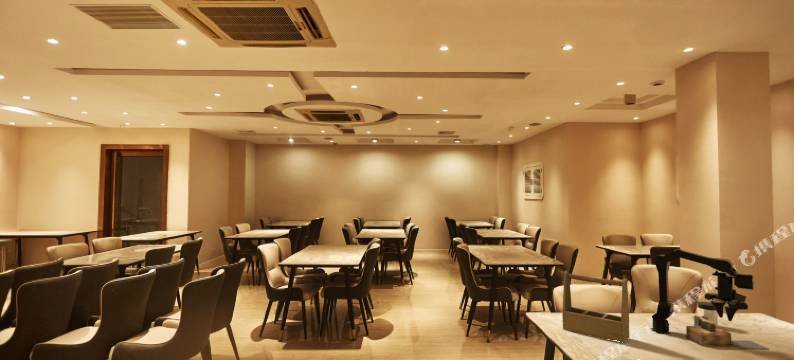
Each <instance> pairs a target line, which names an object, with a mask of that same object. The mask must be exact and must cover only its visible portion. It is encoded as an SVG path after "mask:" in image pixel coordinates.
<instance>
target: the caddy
mask: <svg viewBox="0 0 794 360" xmlns="http://www.w3.org/2000/svg"><path fill="white" fill-rule="evenodd" d="M570 279H571V280H577V281H581V282H589V283H597V284H602V285H609V286H615V287H616V286H617V287H621V313H620V315H616V314H611V313H604V312H601V311H600V312H599V311H596V310H595V311H594V310H591V309H590V310H589V309H584V308H580V307H575V306H572V294H571V283H570V281H571V280H570ZM628 289H629V288H628V279H627V278H623V279H622V280H616V279H610V278H609V279H608V278H603V277H602V278H599V277H592V276H587V275H581V274H575V273H570V272H569V271H567V270H565V271H564V274H563V292H562V293H563V294H562V312H561V313H562V318H561V319H562V330H565V331H568V332H572V333H576V334H581V335H584V336H585V335H586V336H589V335H590V337H593V336H594V338H598V337H599V338H598V339H602V338H603V340H606V339H610V340H617V341H620V342H623V343H624V344H625V343H626V342H627V341H628V340H629V339H630V311H629V310H630V309H629V308H630V307H629V291H628ZM628 338H629V339H628ZM627 339H628V340H627ZM610 340H609V341H610ZM626 340H627V341H626ZM623 343H622V344H623Z"/></svg>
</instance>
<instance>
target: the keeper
mask: <svg viewBox="0 0 794 360" xmlns="http://www.w3.org/2000/svg"><path fill="white" fill-rule="evenodd" d="M702 318H705V319H707V320H708V318H707V317H705V316H702ZM693 321H694V322H693V326H701V323H700V317H697V316H694V320H693Z"/></svg>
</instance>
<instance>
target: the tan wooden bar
mask: <svg viewBox="0 0 794 360" xmlns="http://www.w3.org/2000/svg"><path fill="white" fill-rule="evenodd" d="M694 316H697V314H695V315H694V314H692V315H691V319H692V320H693V321H694ZM697 317H700V316H697ZM701 321H706V322H709V323H711V324H714V325H716V328H717V323H714V322H712V321H709V320H707V319H705V318H702V317H700V323H701Z"/></svg>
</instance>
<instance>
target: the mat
mask: <svg viewBox="0 0 794 360" xmlns="http://www.w3.org/2000/svg"><path fill="white" fill-rule="evenodd" d="M731 346H734V347H736V348H738V349H740V350H770V348H768V347H766V346H764V345H762V344H759V343H756V342H755V341H753V340H732V339H731Z"/></svg>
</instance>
